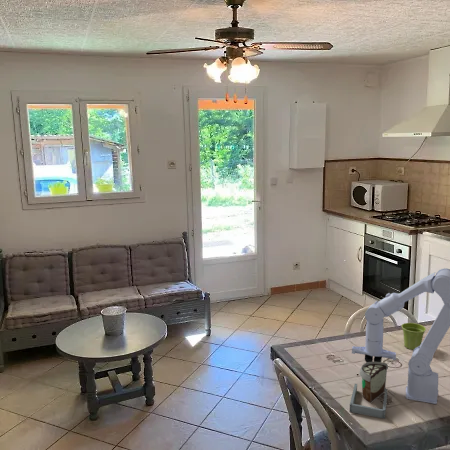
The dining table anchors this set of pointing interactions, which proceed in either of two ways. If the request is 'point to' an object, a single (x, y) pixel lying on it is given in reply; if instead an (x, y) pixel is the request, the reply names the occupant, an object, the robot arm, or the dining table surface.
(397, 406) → the dining table surface
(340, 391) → the dining table surface
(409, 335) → the plant pot
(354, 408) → the bay
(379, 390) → the food container
